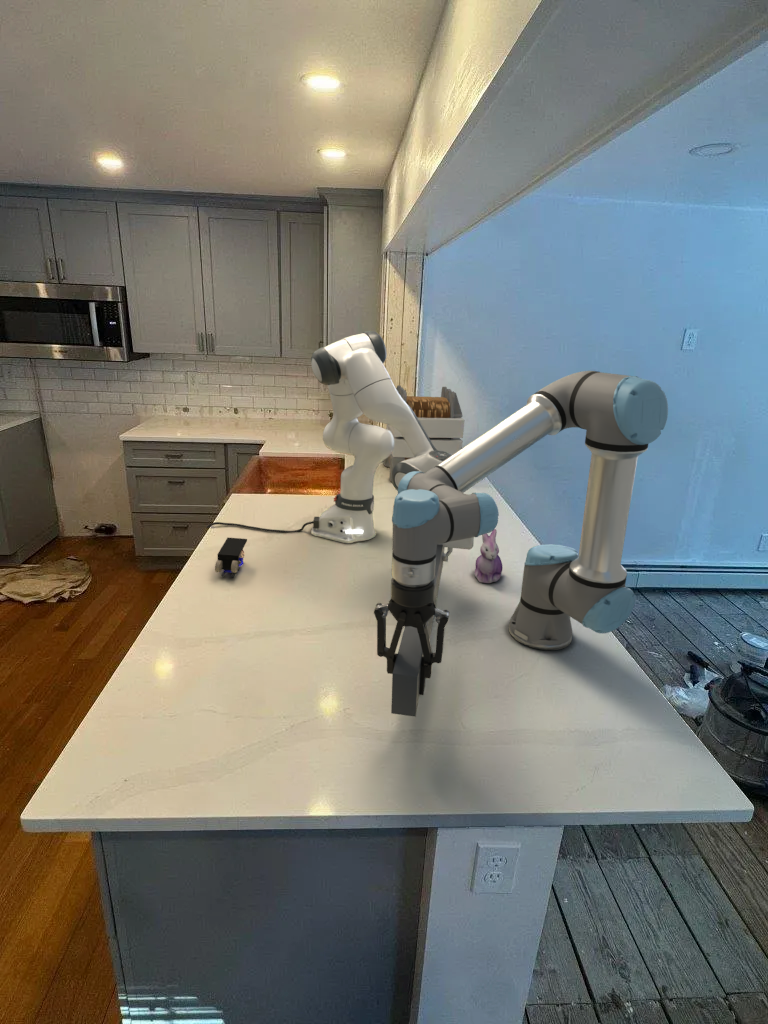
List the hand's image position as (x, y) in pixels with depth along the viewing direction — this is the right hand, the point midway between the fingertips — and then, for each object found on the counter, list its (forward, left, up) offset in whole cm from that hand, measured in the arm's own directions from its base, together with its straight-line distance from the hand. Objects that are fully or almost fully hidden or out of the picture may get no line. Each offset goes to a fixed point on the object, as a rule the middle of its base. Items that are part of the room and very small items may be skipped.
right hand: (408, 688), depth 107 cm
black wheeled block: (-8, -79, -8) cm, 80 cm away
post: (-21, -16, 0) cm, 27 cm away
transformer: (-132, -117, -8) cm, 176 cm away
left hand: (-43, -31, +3) cm, 53 cm away
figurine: (-64, -27, -8) cm, 70 cm away
